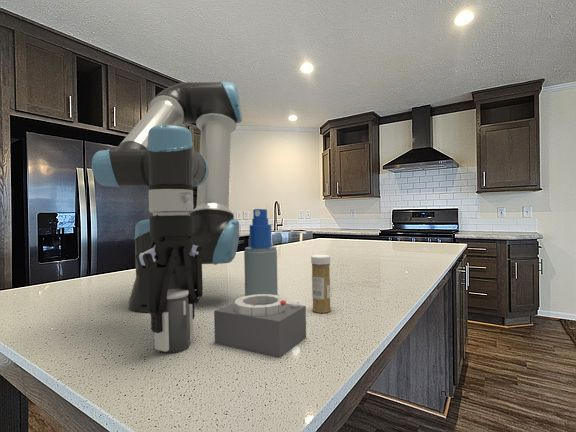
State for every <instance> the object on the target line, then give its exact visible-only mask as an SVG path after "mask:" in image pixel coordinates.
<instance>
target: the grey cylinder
mask: <svg viewBox="0 0 576 432" xmlns="http://www.w3.org/2000/svg"><path fill="white" fill-rule="evenodd" d="M188 295H189V291H188V290H186V289H170V290H168V292H167V298H166V303H165V309H164V312H168V320H169V350H168V351H166V352H165V351H161V350H159V351H160V352H161V353H162V354H176V353H177V354H178V353H180V352H184V351H186V350H187V349H189V347H190V340H189V313H188Z"/></svg>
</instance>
